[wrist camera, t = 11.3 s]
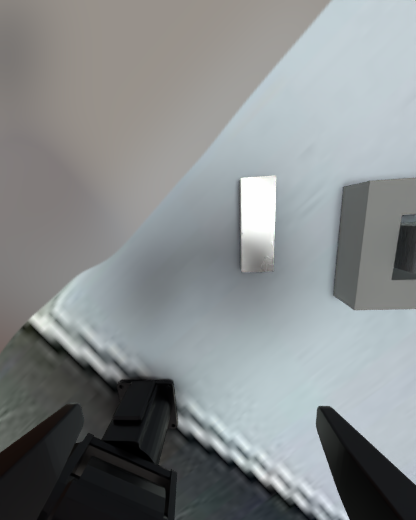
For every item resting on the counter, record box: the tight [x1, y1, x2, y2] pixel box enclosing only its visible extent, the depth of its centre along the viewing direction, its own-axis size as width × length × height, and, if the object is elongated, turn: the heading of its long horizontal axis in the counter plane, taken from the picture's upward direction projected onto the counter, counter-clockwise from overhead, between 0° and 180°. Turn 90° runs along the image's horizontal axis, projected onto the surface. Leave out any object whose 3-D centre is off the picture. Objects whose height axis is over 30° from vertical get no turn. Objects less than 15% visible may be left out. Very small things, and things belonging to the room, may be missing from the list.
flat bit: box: [239, 176, 276, 272], centre depth 17 cm, size 8×3×2 cm, turn 3°
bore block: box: [333, 178, 416, 310], centre depth 16 cm, size 10×10×3 cm
